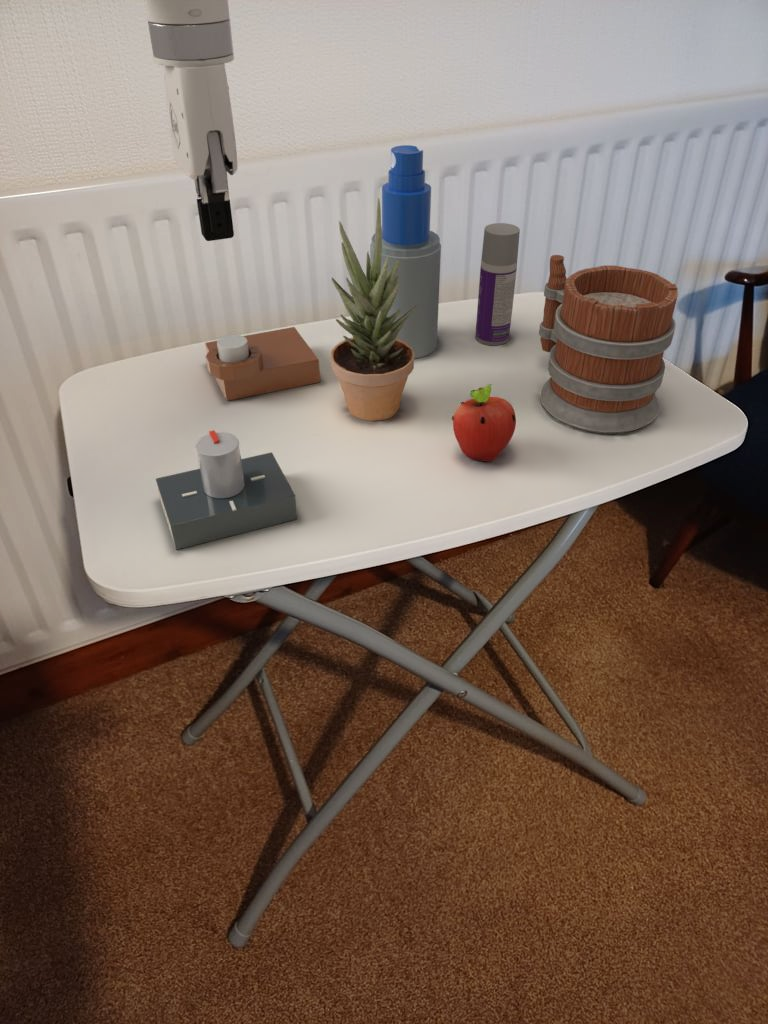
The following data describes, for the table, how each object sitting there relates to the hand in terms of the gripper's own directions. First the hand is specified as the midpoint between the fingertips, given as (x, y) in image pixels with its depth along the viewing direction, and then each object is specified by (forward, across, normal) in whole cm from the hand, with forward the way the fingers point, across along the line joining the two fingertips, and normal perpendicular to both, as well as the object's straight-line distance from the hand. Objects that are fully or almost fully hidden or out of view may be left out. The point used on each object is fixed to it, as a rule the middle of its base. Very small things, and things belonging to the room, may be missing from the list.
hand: (218, 236), depth 85 cm
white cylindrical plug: (+15, 0, 0) cm, 15 cm away
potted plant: (+19, +10, +14) cm, 26 cm away
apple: (+19, +24, +21) cm, 38 cm away
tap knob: (+16, +23, -7) cm, 29 cm away
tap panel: (+19, +23, -7) cm, 31 cm away
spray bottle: (+19, -4, +24) cm, 31 cm away
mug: (+19, +18, +39) cm, 47 cm away
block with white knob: (+19, -3, +4) cm, 20 cm away
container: (+19, 0, +36) cm, 41 cm away
